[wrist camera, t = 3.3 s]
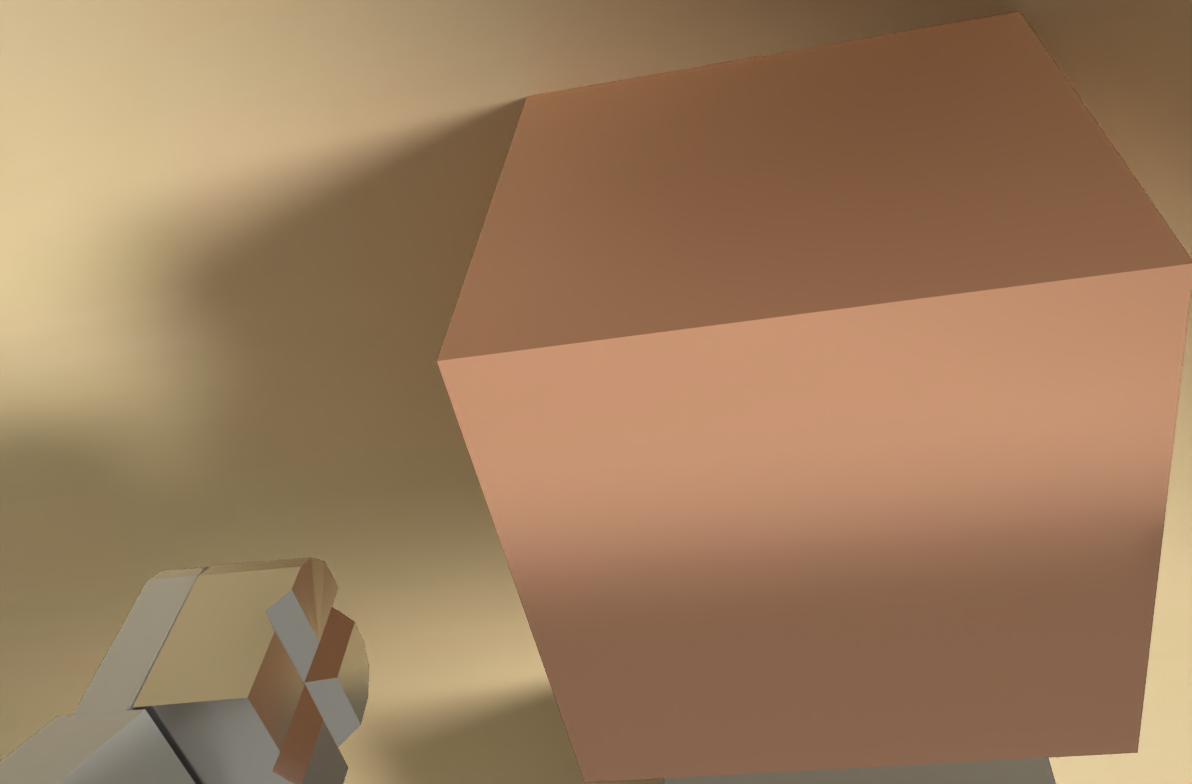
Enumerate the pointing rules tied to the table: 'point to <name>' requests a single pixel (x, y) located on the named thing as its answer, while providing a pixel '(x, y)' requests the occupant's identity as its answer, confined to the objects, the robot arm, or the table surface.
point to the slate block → (899, 774)
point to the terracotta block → (827, 408)
